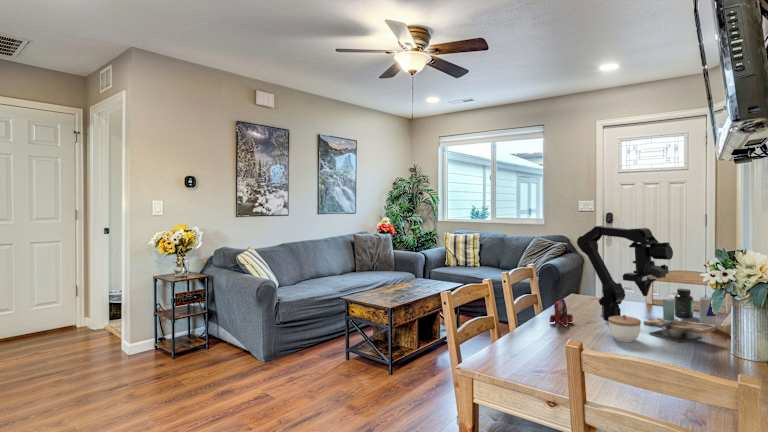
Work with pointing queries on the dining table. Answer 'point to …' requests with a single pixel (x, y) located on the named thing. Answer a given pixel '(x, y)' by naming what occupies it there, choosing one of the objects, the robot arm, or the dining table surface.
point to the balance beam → (683, 326)
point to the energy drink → (706, 311)
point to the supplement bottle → (683, 304)
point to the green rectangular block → (668, 311)
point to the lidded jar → (624, 328)
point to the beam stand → (675, 334)
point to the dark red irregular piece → (561, 313)
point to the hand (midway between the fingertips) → (645, 296)
